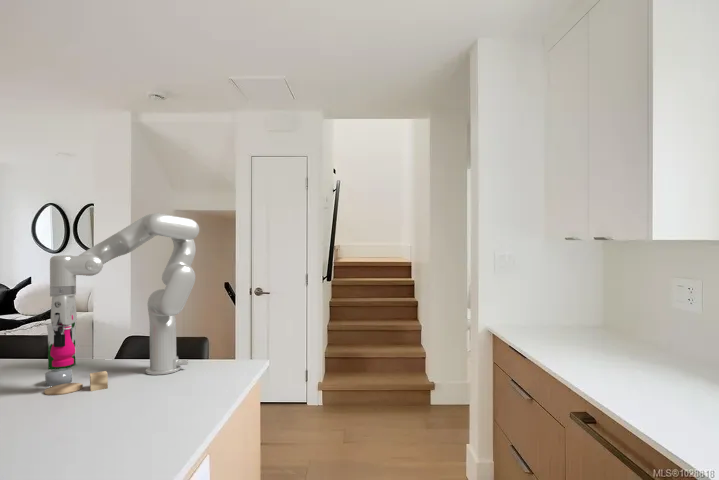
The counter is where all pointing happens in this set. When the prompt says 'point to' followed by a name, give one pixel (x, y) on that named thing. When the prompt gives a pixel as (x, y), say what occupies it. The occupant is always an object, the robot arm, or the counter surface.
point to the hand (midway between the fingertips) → (63, 344)
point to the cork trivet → (63, 389)
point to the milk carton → (51, 341)
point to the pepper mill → (63, 350)
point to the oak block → (98, 381)
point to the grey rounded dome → (58, 377)
